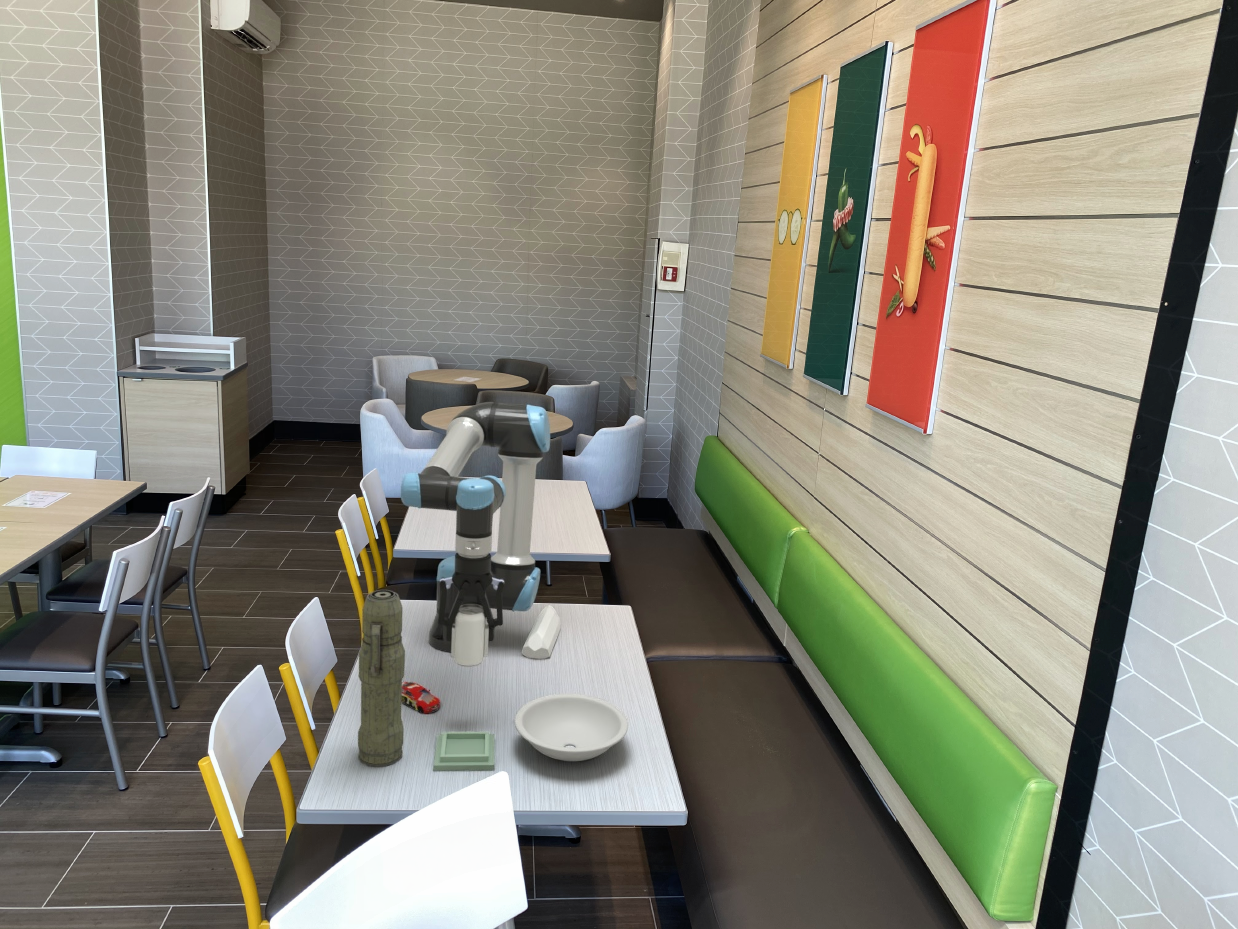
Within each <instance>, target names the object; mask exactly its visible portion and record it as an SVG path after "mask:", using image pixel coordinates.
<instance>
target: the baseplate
mask: <svg viewBox="0 0 1238 929" xmlns="http://www.w3.org/2000/svg"><path fill="white" fill-rule="evenodd" d="M495 736H496V734H495V733H490V731H442V733H438V734H437V738H436V742H435V743H436V744H435V751H434V758H433V759H434V760H433V772H450V771H453V772H454V771H455V772H457V771H459V772H460V771H461V772H462V771H468V772H469V771H495V744H496V743H495V741H496V740H495Z"/></svg>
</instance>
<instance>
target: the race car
mask: <svg viewBox="0 0 1238 929" xmlns="http://www.w3.org/2000/svg"><path fill="white" fill-rule="evenodd" d="M401 704H403V705H405V706H406V707H409V708H411V709H413V710H415V711H418V713H420V714H422V715H423V714H430V713H434V712H436V711H438V710H439V709H440V708H441V700H440V698H439V697H437V696H436V695H434V694H432V692H431V689H427V688H425V687H424V686H423V685H421V684H418V683H416V682H413V681H402V701H401Z"/></svg>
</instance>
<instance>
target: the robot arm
mask: <svg viewBox="0 0 1238 929" xmlns="http://www.w3.org/2000/svg"><path fill="white" fill-rule="evenodd" d="M445 432H446V435H445V436H444V439H443V440H442V441H441V442H440V444H439V446H438V447H437V449H436V450H435V452H434V453H433V455H432V456H431V458H430V460H429V461H428V462H427V464H426V465H425V467H424V468H422V469H423V470H421V472H420V473H419V472H417V471H416V472H408V473H406V474H405V475H404V476H403V478H402V481H401V485H400V499H401V503H402V504H403V505H404V506H406V507H411V508H412V507H413V508H418V509H427V510H428V509H429V510H440V511H452V512H456V513H455V514H456V516H455V518H456V521H455V522H456V523H455V544H454V545H455V547H454V548H455V549H454V550H455V552H456V553H455V554H454V555H453V556H448V557H446V558H445V559H443V560H441V561H440V562H439V564H438V567H437V576H436V610H435V611H436V613H435V616H434V619H433V622H432V625H431V627H430V629H429V633H428V643H429V644H430V645H431V647H433V648H434V649H437V650H438V651H439V650H440V651H442V652H449V653H450V657H451V658H454V657H455V633H456V628H455V618H456V615H457V613H458V610H459V608H460V606H461V605H464V604H477V605H480V606H482V607H483V610H484V613H485V617H486V624H485V646H484V658H488V657H489V655H488V654H489V642H494V639H495V628H496V627H498V626H500V627H501V626H503V625H504V612H503V611H512V612H527V611H529V610H530V609H531V608H532V607H533V605H534V603H535V600H536V596H537V593H538V589H539V584H540V578H541V569H540V568H539V567H536V560H535V559H534V558H533V557H532V555H531V542H532V527H533V515H534V502H535V501H534V500H535V486H536V475H537V474H536V472H537V465H538V463H539V462H541V461H542V460H543V457H544V453H547V452H549V450H550V447H551V426H550V419H549V415H548V412H547V411H546V409H545V408H544V407H541V406H537V405H536V406H535V405H531V404H520V403H519V404H517V403H516V404H515V403H505V402H504V403H503V402H493V401H486V402H481V403H477V404H475V405H472V406H470V407H468V408H466V409H464V410H462V411H460V412H459V413H457V414H456V415H455V416H454V417H452V419H451V421H450V422H449V423H448V426H447V427H446V431H445ZM481 447H491V448H498V450H497V456H498V457H499V458H500V459H501V460H502V463H503V464H502V478H501V479H500V478H498V477H497V476H494V475H485V476H481V477H479V478H473V477H461V476H459V475H460V474H461V472H462V471H463V469H464V467H465V465H466V464H467V463H468V460H469V459H470V457H471V455H472V453H473V452H475V451H477V450H479V449H480V448H481ZM498 510H499V518H498V519H499V520H498V532H497V533H498V536H497V548H496V552H495V554H494V555H492V554H491V552H492V547H493V545H492V544H493V519H494V518H493V517H494V514H495V513H496V511H498ZM492 609H493V610H496V618H494V615H493V613H492Z"/></svg>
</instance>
